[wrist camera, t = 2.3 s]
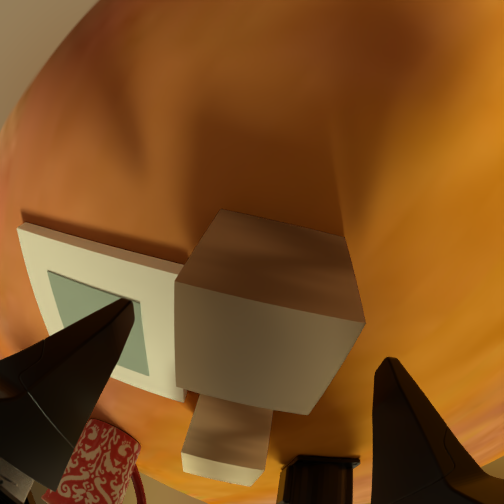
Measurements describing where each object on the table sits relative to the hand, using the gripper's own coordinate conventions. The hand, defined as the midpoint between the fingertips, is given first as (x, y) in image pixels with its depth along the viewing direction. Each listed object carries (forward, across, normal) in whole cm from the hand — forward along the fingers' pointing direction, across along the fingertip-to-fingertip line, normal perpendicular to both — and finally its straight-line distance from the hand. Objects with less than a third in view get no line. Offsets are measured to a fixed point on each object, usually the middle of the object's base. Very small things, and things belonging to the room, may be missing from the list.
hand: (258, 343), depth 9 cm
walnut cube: (+4, 0, 0) cm, 4 cm away
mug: (+4, +12, +30) cm, 33 cm away
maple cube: (+4, 0, +13) cm, 14 cm away
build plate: (+4, +9, +6) cm, 11 cm away
